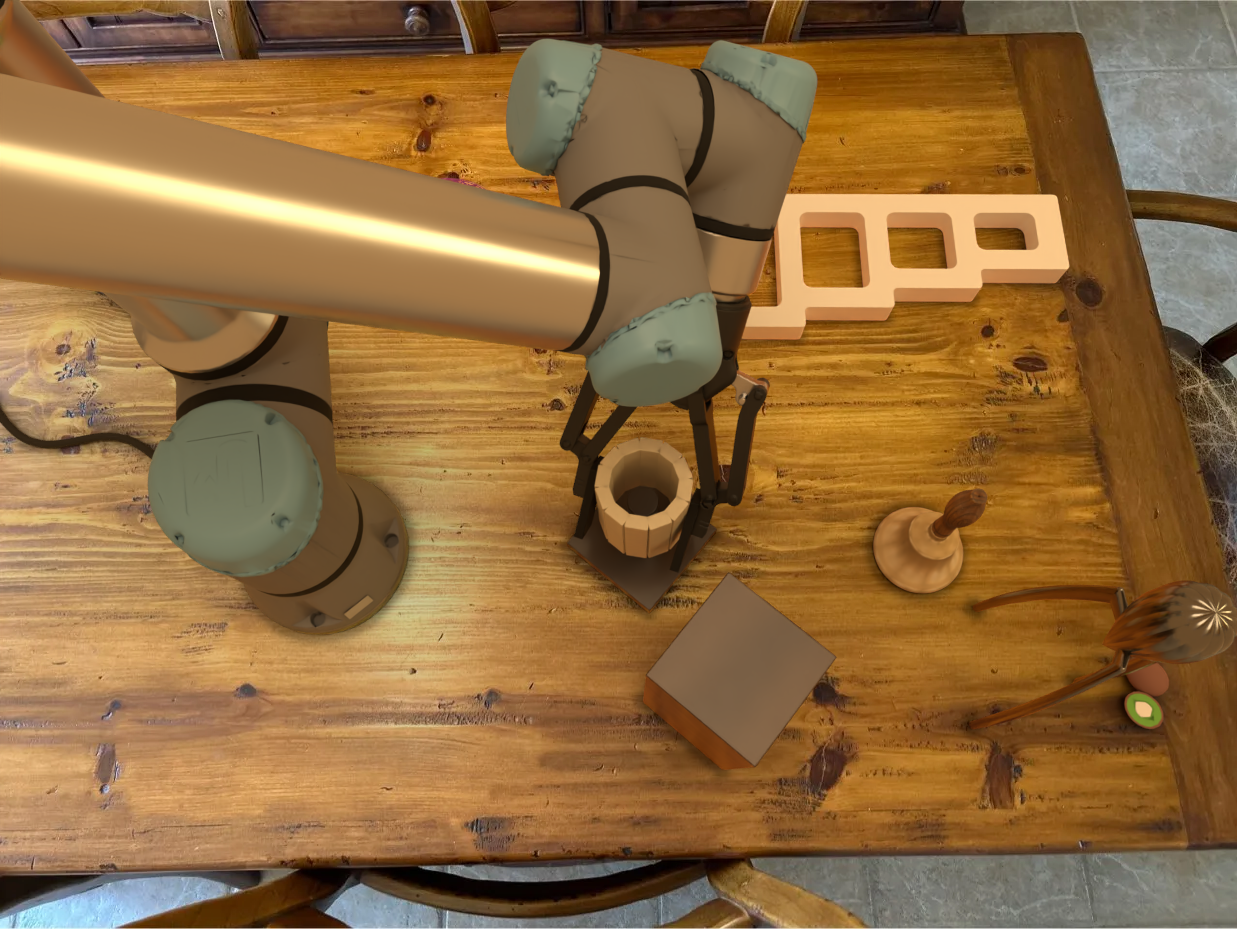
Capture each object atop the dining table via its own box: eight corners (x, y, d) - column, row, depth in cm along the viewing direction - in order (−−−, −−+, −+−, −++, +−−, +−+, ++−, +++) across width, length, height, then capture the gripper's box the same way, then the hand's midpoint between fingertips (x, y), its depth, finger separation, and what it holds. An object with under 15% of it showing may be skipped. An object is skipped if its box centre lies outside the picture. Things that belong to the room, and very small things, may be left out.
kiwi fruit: (1093, 685, 78) (1108, 682, 76) (1132, 649, 79) (1148, 644, 77) (1141, 736, 77) (1158, 735, 74) (1181, 698, 78) (1198, 696, 75)
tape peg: (567, 546, 84) (556, 508, 72) (634, 469, 86) (634, 420, 74) (649, 613, 81) (651, 586, 70) (715, 532, 84) (729, 492, 72)
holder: (1045, 210, 95) (1056, 194, 93) (1071, 361, 89) (1084, 348, 87) (627, 208, 96) (627, 193, 94) (625, 358, 90) (625, 345, 88)
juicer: (974, 602, 81) (1156, 510, 53) (1082, 681, 79) (1333, 628, 50) (916, 687, 79) (1073, 637, 51) (1025, 771, 76) (1256, 768, 48)
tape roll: (582, 521, 76) (575, 489, 68) (637, 458, 78) (637, 419, 69) (649, 574, 74) (650, 549, 66) (703, 509, 76) (711, 476, 68)
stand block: (642, 702, 79) (645, 675, 58) (704, 624, 81) (728, 571, 60) (722, 770, 77) (755, 767, 56) (784, 688, 79) (837, 656, 58)
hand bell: (856, 527, 84) (905, 473, 69) (933, 494, 85) (998, 432, 70) (900, 607, 81) (960, 569, 66) (979, 572, 82) (1056, 526, 67)
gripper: (844, 312, 65) (753, 564, 75) (584, 234, 68) (530, 488, 78) (841, 339, 58) (742, 612, 69) (553, 252, 61) (498, 527, 71)
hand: (629, 546), depth 73 cm, fingers closed on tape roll, 8 cm apart
